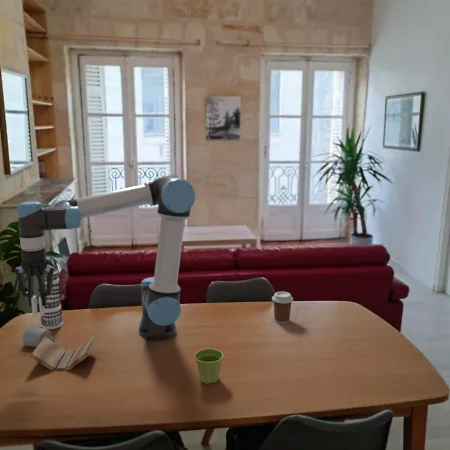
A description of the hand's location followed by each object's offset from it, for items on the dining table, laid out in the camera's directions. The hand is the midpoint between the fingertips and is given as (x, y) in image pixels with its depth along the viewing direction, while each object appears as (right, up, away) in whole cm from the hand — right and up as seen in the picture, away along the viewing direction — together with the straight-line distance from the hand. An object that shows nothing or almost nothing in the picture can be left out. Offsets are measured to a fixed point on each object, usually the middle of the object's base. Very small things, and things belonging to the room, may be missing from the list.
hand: (38, 314), depth 154 cm
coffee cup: (+89, -11, +41) cm, 98 cm away
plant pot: (+59, -20, -6) cm, 62 cm away
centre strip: (+8, -18, +4) cm, 20 cm away
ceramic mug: (-7, -15, +18) cm, 25 cm away
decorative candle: (-9, -12, +36) cm, 39 cm away
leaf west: (+14, -14, +4) cm, 21 cm away
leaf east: (+2, -15, +3) cm, 15 cm away
